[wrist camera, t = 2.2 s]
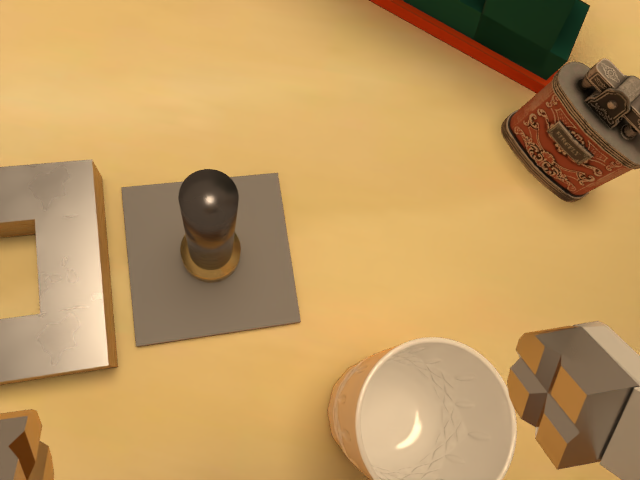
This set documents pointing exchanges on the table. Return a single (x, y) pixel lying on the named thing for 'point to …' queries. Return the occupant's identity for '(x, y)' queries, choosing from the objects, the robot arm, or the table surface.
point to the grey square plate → (197, 296)
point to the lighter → (579, 129)
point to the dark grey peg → (209, 225)
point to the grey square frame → (59, 272)
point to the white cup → (425, 414)
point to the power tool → (502, 32)
